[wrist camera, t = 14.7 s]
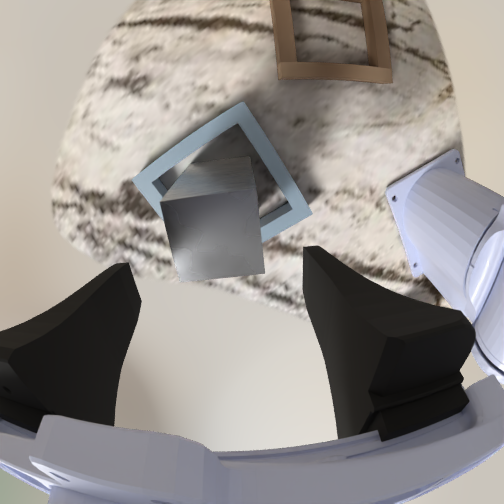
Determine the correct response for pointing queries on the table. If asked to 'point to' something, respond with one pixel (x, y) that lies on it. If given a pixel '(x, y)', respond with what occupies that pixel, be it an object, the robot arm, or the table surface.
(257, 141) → the light blue square frame
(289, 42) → the walnut socket
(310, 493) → the robot arm
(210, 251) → the grey metal block
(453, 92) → the table surface
